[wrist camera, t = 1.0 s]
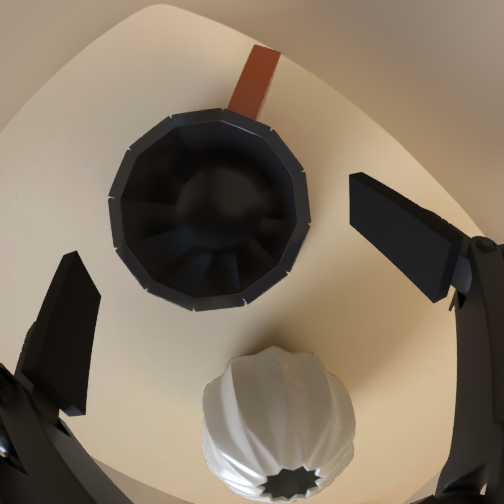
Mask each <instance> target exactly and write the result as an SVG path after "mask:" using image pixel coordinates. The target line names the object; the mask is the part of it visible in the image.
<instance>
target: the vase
mask: <svg viewBox="0 0 504 504" xmlns="http://www.w3.org/2000/svg"><path fill="white" fill-rule="evenodd" d="M203 412H204V417H203V420H202V425H201V441H202V447H203V452H204V456H205V460H206V463H207V465H208V466H209V468H210V469H211V471H212V472H213V474H214V475H215V476H216V477H218V478H219V479H221V480H222V481H224V482H225V483H226V484H227V486H228V488H229V489H230V491H231V492H232V493H234V494H237V495H239V496H242V497H245V498H248V499H251V500H255V501H260V502H264V503H277V504H287V503H293V502H295V501H297V500H299V499H307V498H309V497H311V496H314V495H316V494H317V493H319V492H321V491H322V490H323V489H325V488H326V487H328V486H329V485H330V484H331V483H332V482H333V481H334V480H335V478H336V477H337V476H339V475H340V473H341V472H342V471H343V470H344V469H345V468H346V467H347V466H348V464H349V463H350V462H351V461H352V459H353V457H354V443H353V440H354V437H355V426H356V420H355V413H354V409H353V405H352V402H351V398H350V396H349V393H348V391H347V388H346V387H345V386H344V384H343V383H342V381H341V380H340V379H339V378H337V377H336V376H335V375H334V374H332V373H330V372H328V371H326V370H325V368H324V366H323V364H322V363H321V361H320V360H319V358H318V357H317V356H316V355H315V354H314V353H290V352H288V351H286V350H284V349H281V348H279V347H277V346H271V347H269V348H267V349H265V350H263V351H261V352H259V353H257V354H256V355H249V356H241V357H235V358H232V359H231V360H230V362H229V364H228V366H227V367H226V369H225V371H224V373H223V374H222V375H221V376H219V377H218V378H216V379H214V380H213V381H211V382H210V383H208V384H207V386H206V388H205V390H204V394H203Z"/></svg>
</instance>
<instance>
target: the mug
mask: <svg viewBox="0 0 504 504" xmlns="http://www.w3.org/2000/svg"><path fill="white" fill-rule="evenodd" d="M280 55H281V52H278V51H275V50H272V49H269V48H265V47H262V46H259V45H254V46H253V48H252V50H251V53H250V55H249V57H248V59H247V62H246V64H245V66H244V69H243V71H242V73H241V76H240V78H239V80H238V83H237V85H236V87H235V90H234V92H233V95H232V97H231V100H230V102H229V105H228V107H227V109H224V110H223V112H222V109H221V108H216V109H208V110H201V111H194V112H187V113H181V114H175V115H172V119H171V118H170V117H169V116H168V117H167V118H165V119H164V120H163V121H161V122H160V123H159V124H157V125H156V126H155V127H153V128H152V129H151V130H150V131H148V132H147V133H146V134H145V135H143V136H142V137H141V138H140V139H138V140H137V141H136V142H135V143H133V144H132V145H131V146H130V147H129V148H130V150H127V151H126V153H125V156H124V158H123V160H122V163H121V165H120V167H119V170H118V172H117V174H116V177H115V179H114V182H113V184H112V187H111V190H110V192H109V195H108V196H109V197H112V198H109V199H108V204H109V213H110V222H111V230H112V237H113V244H114V248H117V249H116V253H117V254H118V255H119V257H120V258H121V260H122V261H123V262H124V264H125V265H126V266H127V268H128V269H129V270H130V272H131V273H132V274H133V276H134V277H135V278H136V280H137V281H138V282H139V284H140V285H141V286H142V287H143V289H144V290H145V289H147V288H148V289H147V292H148V293H150V294H152V295H155V296H157V297H159V298H161V299H164V300H166V301H168V302H171V303H173V304H175V305H178V306H180V307H182V308H185V309H187V310H190V311H193V309H195V311H196V312H198V311H207V310H216V309H225V308H233V307H241V306H244V305H245V303H246V304H250V303H251V302H252V301H254V300H255V299H256V298H258V297H259V296H261V295H262V294H263V293H265V292H266V291H267V290H269V289H270V288H271V287H273V286H274V285H275V284H277V283H278V282H279V281H281V280H282V279H284V278H285V277H286V276H287V275H288V273H287V272H291V270H292V267H293V265H294V263H295V261H296V258H297V256H298V254H299V252H300V249H301V247H302V245H303V243H304V240H305V238H306V236H307V233H308V231H309V229H310V225H308V224H307V223H311V216H310V207H309V198H308V189H307V181H306V173H305V172H302V171H303V170H304V168H303V167H302V166H301V164H300V163H299V162H298V160H297V159H296V158H295V156H294V155H293V154H292V152H291V151H290V150H289V148H288V147H287V146H286V144H285V143H284V142H283V140H282V139H281V138H280V136H279V135H278V134H277V133H276V131H275V130H274V129H273V130H271V131H270V129H271V127H270V126H267V125H265V124H263V123H260V122H258V119H259V117H260V114H261V111H262V108H263V106H264V103H265V100H266V98H267V95H268V92H269V88H270V85H271V82H272V79H273V76H274V73H275V70H276V67H277V64H278V61H279V58H280ZM286 271H287V272H286Z"/></svg>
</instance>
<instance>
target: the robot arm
mask: <svg viewBox="0 0 504 504" xmlns="http://www.w3.org/2000/svg"><path fill="white" fill-rule="evenodd" d="M349 196H350V225H351V226H352V227H353V228H355V229H356V230H357V231H358V232H359V233H360V234H361V235H363V236H364V237H365V238H366V239H367V240H368V241H369V242H370V243H371V244H373V245H374V246H375V247H376V248H377V249H378V250H379V251H380V252H381V253H382V254H384V255H385V256H386V257H387V258H388V259H389V260H390V261H391V262H392V263H393V264H394V265H395V266H396V267H397V268H398V269H399V270H400V271H402V272H403V273H404V274H405V275H406V276H407V277H408V278H409V279H410V280H411V281H412V282H413V283H414V284H415V285H416V286H417V287H418V288H419V289H420V290H421V291H422V292H423V293H424V294H425V295H426V296H427V297H428V298H429V299H430V300H431V301H432V302H433V303H436V302H438V301H439V300H441V299H443V298H445V297H447V294H448V291H449V288H450V285H452V286H453V287H454V288H456V290H455V293H454V296H453V298H452V301H451V304H450V307H449V311H451V310H452V308H453V306H454V305H455V316H456V334H457V388H456V405H455V417H454V426H453V435H452V442H451V449H450V454H449V457H448V460H447V462H446V464H445V465H444V467H443V469H442V471H441V474H440V477H439V481H438V484H437V488H436V492H435V496H434V495H431V496H428V497H426V498H423V499H421V500H418V501H416V502H413V503H410V504H504V244H501V245H497V244H496V243H495V242H494V241H492V240H491V239H489V238H486V237H483V236H475V237H472V238H470V237H469V236H467V235H466V234H464V233H463V232H462V231H460V230H459V229H457V228H456V227H455V226H453V225H452V224H450V223H448V222H447V221H446V220H444V219H442V218H441V217H440V216H438V215H437V214H435V213H434V212H432V211H429V210H427V209H424V208H422V207H420V206H419V205H417V204H415V203H414V202H412V201H411V200H409V199H408V198H406V197H404V196H403V195H401V194H399V193H398V192H396V191H394V190H393V189H391V188H389V187H388V186H386V185H384V184H382V183H381V182H379V181H377V180H376V179H374V178H372V177H370V176H368V175H367V174H365V173H363V172H359V173H354V174H349ZM100 300H101V295H100V293H99V292H98V290H97V288H96V286H95V284H94V283H93V281H92V279H91V277H90V275H89V273H88V272H87V270H86V268H85V266H84V264H83V262H82V260H81V258H80V256H79V254H78V252H77V251H74V252H71V253H68V254H65V255H63V257H62V260H61V262H60V264H59V266H58V268H57V270H56V273H55V275H54V277H53V279H52V282H51V284H50V286H49V289H48V291H47V294H46V296H45V299H44V301H43V304H42V306H41V309H40V312H39V314H38V317H37V320H36V322H34V323H33V324H32V326H31V327H30V329H29V330H28V332H27V335H26V338H25V341H24V343H25V344H23V347H22V352H21V353H20V356H19V360H18V363H17V366H16V370H15V374H14V376H13V375H12V374H11V373H10V372H9V371H8V370H7V369H6V367H5V366H4V365H3V364H2V363H0V449H1V450H2V451H4V454H5V457H2V456H1V455H0V504H134V503H133V502H132V501H131V500H130V499H129V498H128V497H126V496H125V494H124V493H122V491H121V490H120V489H119V488H118V487H117V486H116V485H115V484H114V483H113V482H112V481H111V480H110V479H109V478H108V476H107V475H106V474H105V473H104V472H103V471H102V470H101V469H100V468H99V466H98V465H97V464H96V463H95V462H94V460H93V459H92V458H91V457H90V455H89V454H88V453H87V452H86V450H85V449H84V448H83V447H82V445H81V444H80V443H79V441H78V440H77V439H76V437H75V436H74V435H73V433H72V432H71V431H70V429H69V428H68V426H67V425H66V423H65V422H64V421H63V420H62V419H61V418H60V417H59V409H61V410H62V411H63V412H64V413H66V414H67V415H68V416H69V417H70V416H80V415H86V400H87V388H88V378H89V369H90V361H91V353H92V346H93V339H94V333H95V327H96V321H97V315H98V310H99V305H100ZM486 483H487V486H486V491H485V495H481V494H480V492H481V489H482V488H483V486H484V485H485V484H486Z"/></svg>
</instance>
